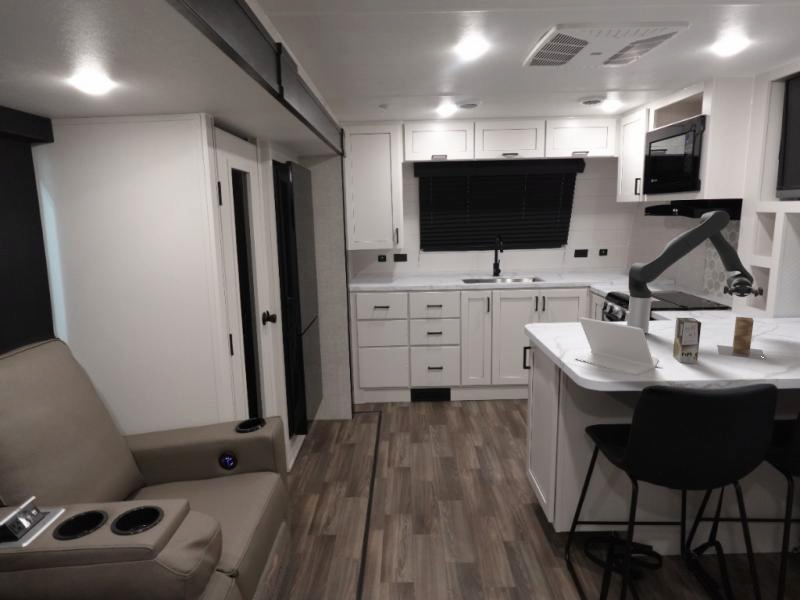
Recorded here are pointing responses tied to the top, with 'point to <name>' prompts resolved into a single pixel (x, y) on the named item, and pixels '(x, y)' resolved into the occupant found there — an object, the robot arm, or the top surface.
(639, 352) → the white laptop
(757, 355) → the tile
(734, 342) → the brown wooden block
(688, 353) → the coffee box
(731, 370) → the top surface
